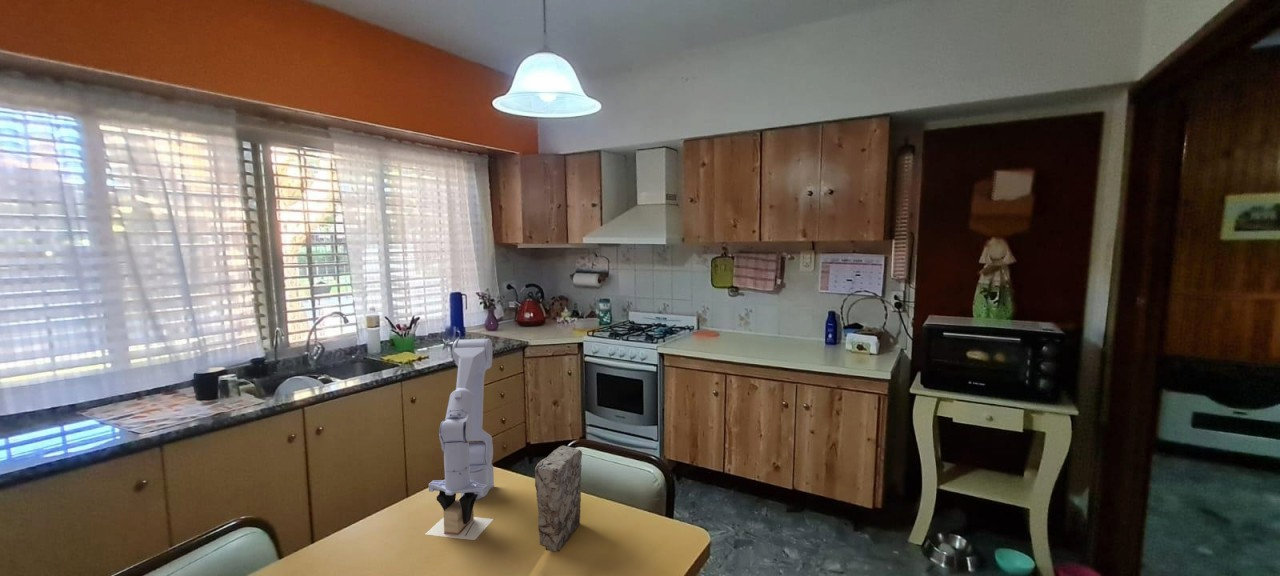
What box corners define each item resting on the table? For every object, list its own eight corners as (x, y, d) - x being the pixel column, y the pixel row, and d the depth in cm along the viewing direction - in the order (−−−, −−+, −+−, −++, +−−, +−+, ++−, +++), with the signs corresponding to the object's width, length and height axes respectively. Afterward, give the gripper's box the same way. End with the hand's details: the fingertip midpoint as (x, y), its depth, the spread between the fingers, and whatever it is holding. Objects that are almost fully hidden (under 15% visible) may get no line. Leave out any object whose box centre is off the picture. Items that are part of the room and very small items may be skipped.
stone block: (564, 554, 108) (562, 468, 106) (535, 550, 109) (533, 465, 108) (584, 522, 120) (582, 445, 119) (558, 519, 122) (556, 442, 121)
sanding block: (460, 517, 121) (459, 496, 120) (473, 519, 120) (472, 497, 120) (444, 533, 114) (443, 511, 114) (458, 535, 113) (457, 512, 113)
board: (446, 518, 123) (446, 514, 123) (493, 523, 120) (493, 518, 120) (424, 539, 114) (424, 534, 114) (475, 545, 111) (474, 540, 111)
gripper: (419, 472, 113) (422, 527, 114) (476, 476, 111) (478, 533, 112) (437, 459, 120) (439, 511, 121) (491, 463, 118) (492, 516, 119)
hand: (459, 520), depth 117 cm, fingers closed on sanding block, 4 cm apart
